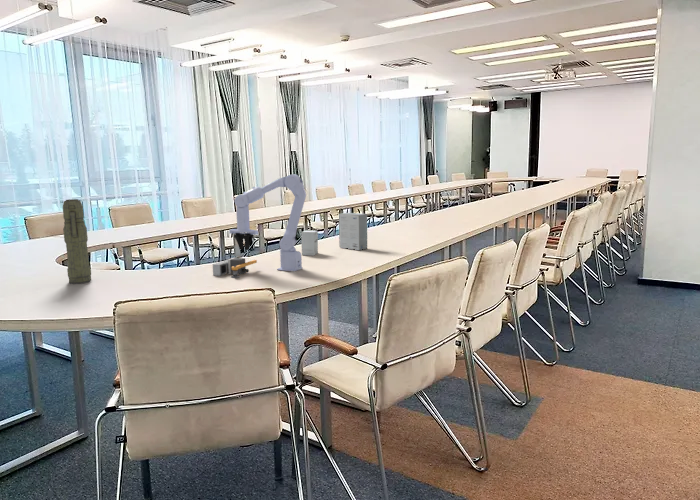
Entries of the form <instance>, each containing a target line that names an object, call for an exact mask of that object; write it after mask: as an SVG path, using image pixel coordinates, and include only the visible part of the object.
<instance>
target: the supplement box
mask: <svg viewBox="0 0 700 500" xmlns="http://www.w3.org/2000/svg"><path fill="white" fill-rule="evenodd" d="M300 234H301V235H300V237H301V239H300V240H301V256H316V255H318V254H319V244H318V243H319V242H318V241H319V237H318V234H319V233H318V230H303V231H301V233H300Z"/></svg>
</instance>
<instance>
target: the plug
mask: <svg viewBox="0 0 700 500" xmlns="http://www.w3.org/2000/svg"><path fill="white" fill-rule="evenodd" d="M227 260H228V269H229V273H228V274H229V275H230V274H231V275H233V270H232V266H237V265H240V264H243V263H246V258H243V257H232V258H228V259H227ZM249 271H250V270H249V268H247V266H245V267H242V268H239V269H238V270H237V272H238V275H242V274H245V273H249Z"/></svg>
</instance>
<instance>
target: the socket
mask: <svg viewBox="0 0 700 500" xmlns="http://www.w3.org/2000/svg"><path fill="white" fill-rule="evenodd" d="M228 274H229V269H228V259H225V260H222V261H220V262H219V261H218V262H216V263H212V276H217V277H221V276H224V275H228Z"/></svg>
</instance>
